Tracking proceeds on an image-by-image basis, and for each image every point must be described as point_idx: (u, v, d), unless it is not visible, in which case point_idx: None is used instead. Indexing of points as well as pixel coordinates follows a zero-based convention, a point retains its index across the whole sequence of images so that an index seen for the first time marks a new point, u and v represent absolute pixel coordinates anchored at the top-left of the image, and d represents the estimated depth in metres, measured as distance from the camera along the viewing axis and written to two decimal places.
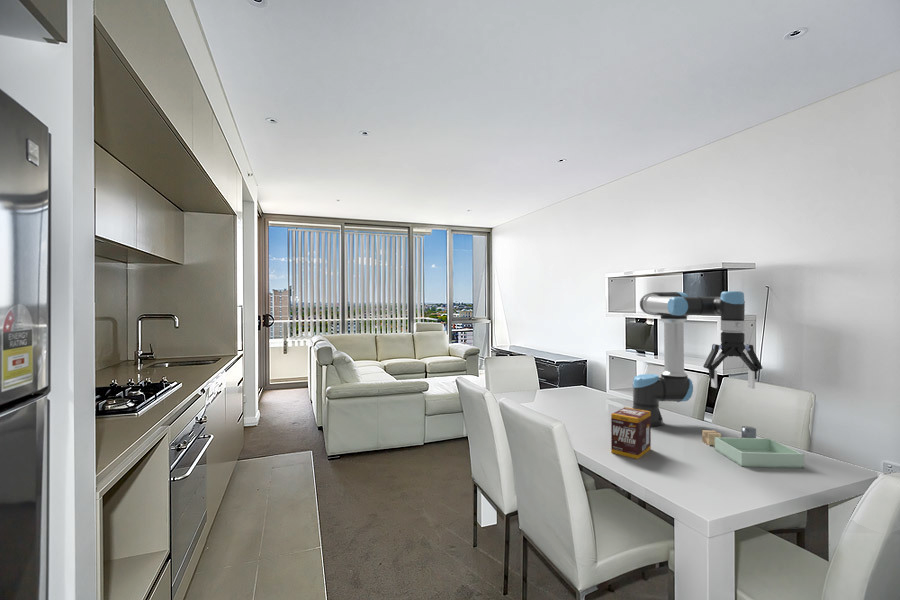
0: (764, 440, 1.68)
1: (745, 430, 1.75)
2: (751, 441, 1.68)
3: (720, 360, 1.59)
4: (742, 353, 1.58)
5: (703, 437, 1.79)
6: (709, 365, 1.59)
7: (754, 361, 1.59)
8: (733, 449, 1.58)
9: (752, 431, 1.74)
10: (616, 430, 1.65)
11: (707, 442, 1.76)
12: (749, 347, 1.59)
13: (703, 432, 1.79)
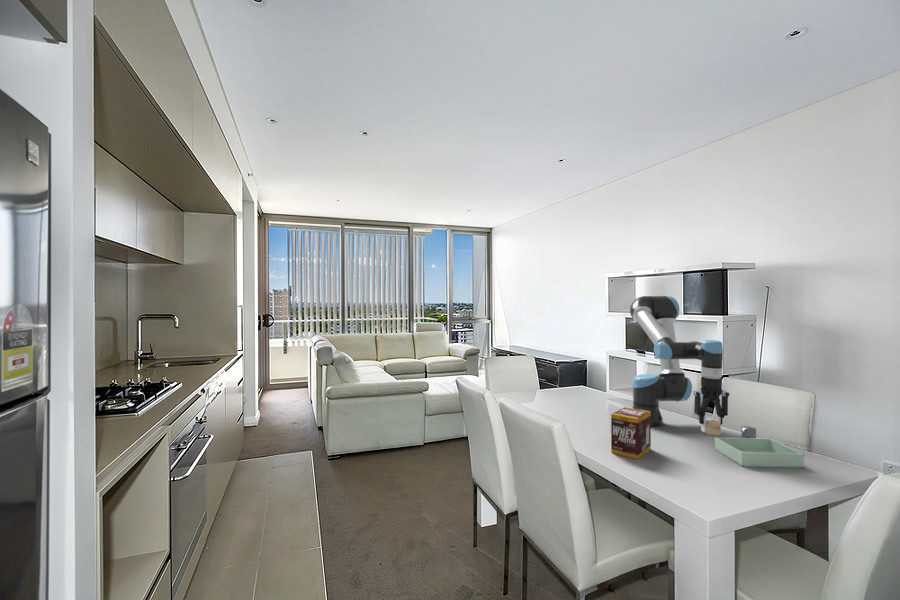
0: (764, 440, 1.68)
1: (745, 430, 1.75)
2: (751, 441, 1.68)
3: (705, 406, 1.77)
4: (717, 398, 1.76)
5: None
6: (699, 412, 1.77)
7: (723, 407, 1.77)
8: (733, 449, 1.58)
9: (752, 431, 1.74)
10: (616, 430, 1.65)
11: (706, 431, 1.76)
12: (725, 394, 1.76)
13: None
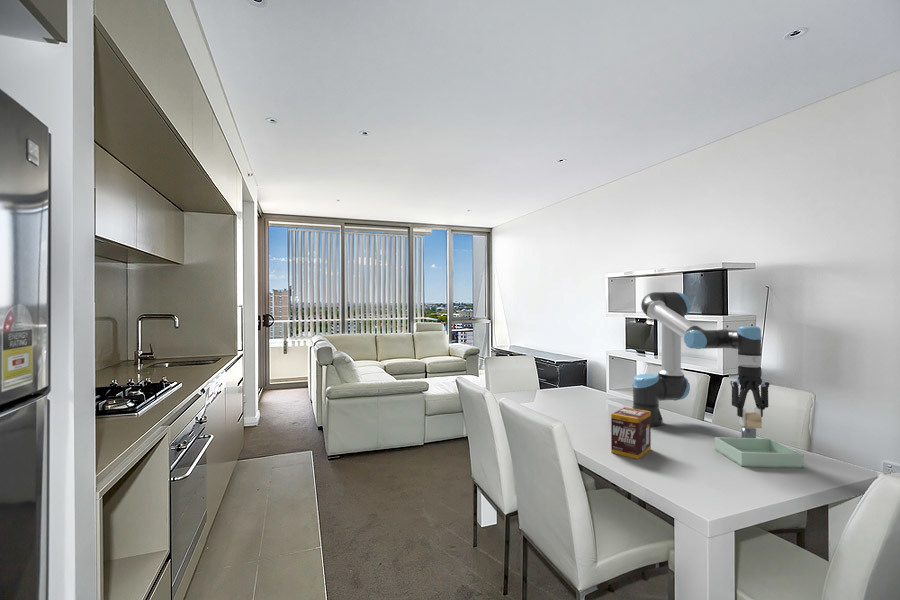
0: (764, 440, 1.68)
1: (745, 430, 1.75)
2: (751, 441, 1.68)
3: (744, 397, 1.64)
4: (757, 388, 1.63)
5: None
6: (737, 403, 1.64)
7: (763, 398, 1.64)
8: (733, 449, 1.58)
9: (752, 431, 1.74)
10: (616, 430, 1.65)
11: (746, 424, 1.63)
12: (765, 384, 1.63)
13: None
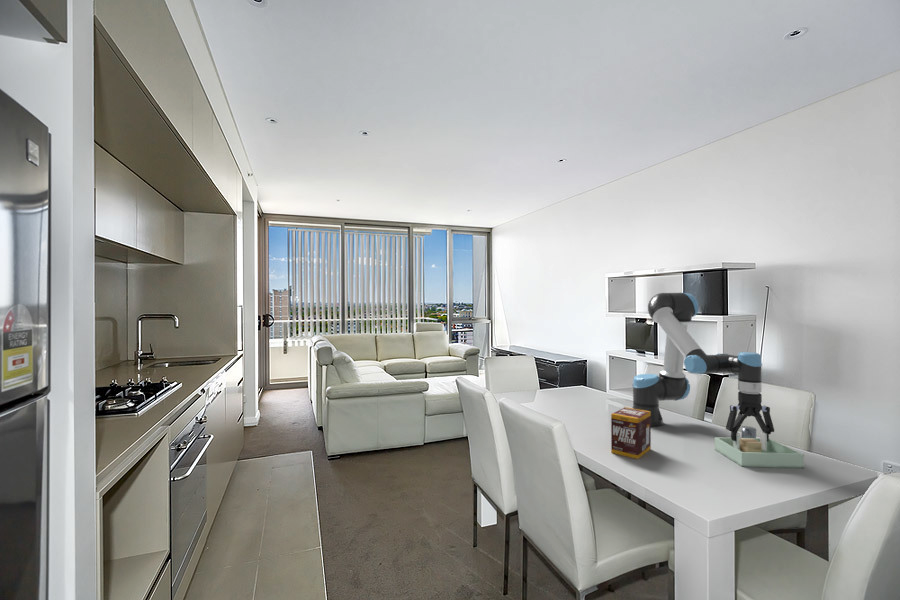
0: None
1: (745, 430, 1.75)
2: None
3: (740, 422, 1.64)
4: (758, 414, 1.63)
5: (741, 446, 1.66)
6: (731, 427, 1.64)
7: (767, 423, 1.64)
8: (733, 449, 1.58)
9: (752, 431, 1.74)
10: (616, 430, 1.65)
11: (746, 451, 1.63)
12: (766, 409, 1.63)
13: (741, 440, 1.66)
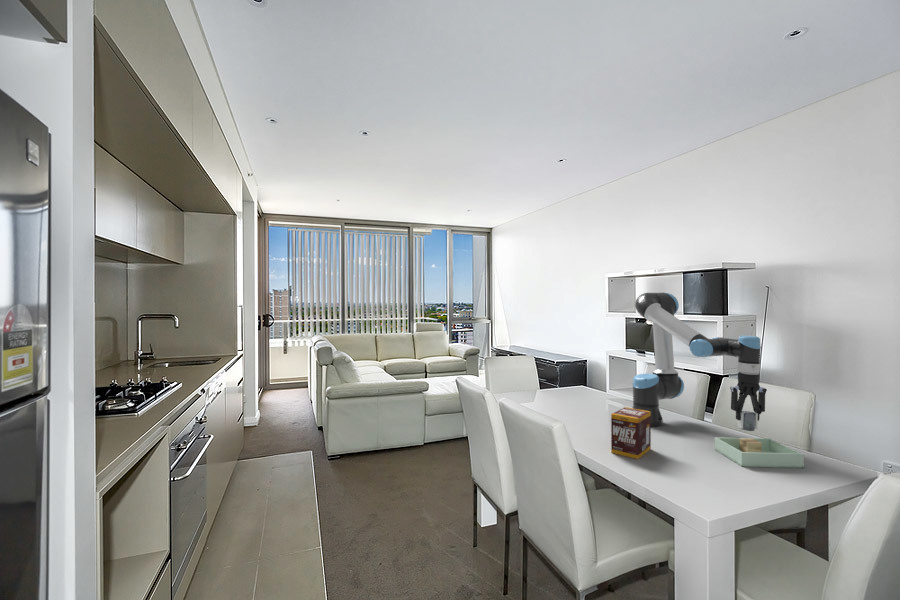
0: (764, 440, 1.68)
1: (744, 414, 1.75)
2: None
3: (742, 401, 1.75)
4: (755, 393, 1.75)
5: (741, 446, 1.66)
6: (736, 407, 1.76)
7: (760, 403, 1.76)
8: (733, 449, 1.58)
9: (751, 415, 1.74)
10: (616, 430, 1.65)
11: (746, 451, 1.63)
12: (763, 390, 1.75)
13: (741, 440, 1.66)
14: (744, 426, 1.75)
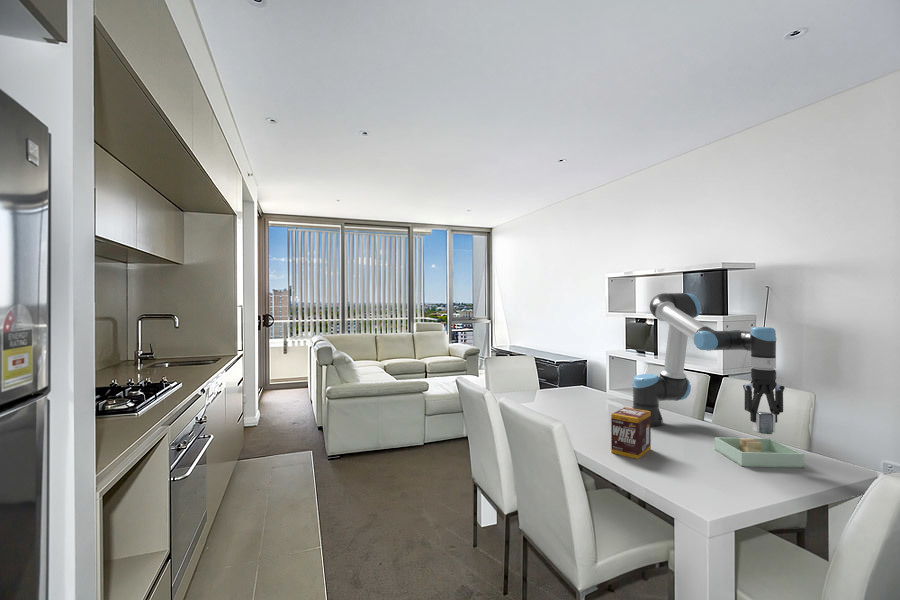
0: (764, 440, 1.68)
1: (760, 416, 1.55)
2: None
3: (758, 401, 1.56)
4: (771, 392, 1.55)
5: (741, 446, 1.66)
6: (750, 408, 1.56)
7: (778, 402, 1.56)
8: (733, 449, 1.58)
9: (768, 417, 1.54)
10: (616, 430, 1.65)
11: (746, 451, 1.63)
12: (780, 387, 1.55)
13: (741, 440, 1.66)
14: (760, 429, 1.55)
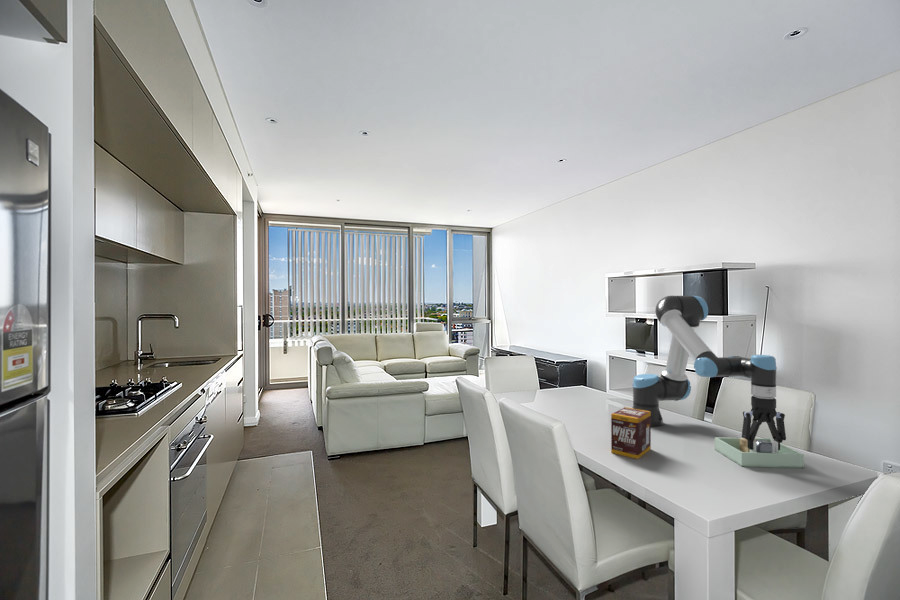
0: None
1: (760, 445, 1.55)
2: None
3: (756, 429, 1.56)
4: (772, 420, 1.55)
5: (741, 446, 1.66)
6: (747, 435, 1.56)
7: (780, 430, 1.56)
8: (733, 449, 1.58)
9: (768, 446, 1.54)
10: (616, 430, 1.65)
11: (746, 451, 1.63)
12: (780, 415, 1.55)
13: (741, 440, 1.66)
14: None
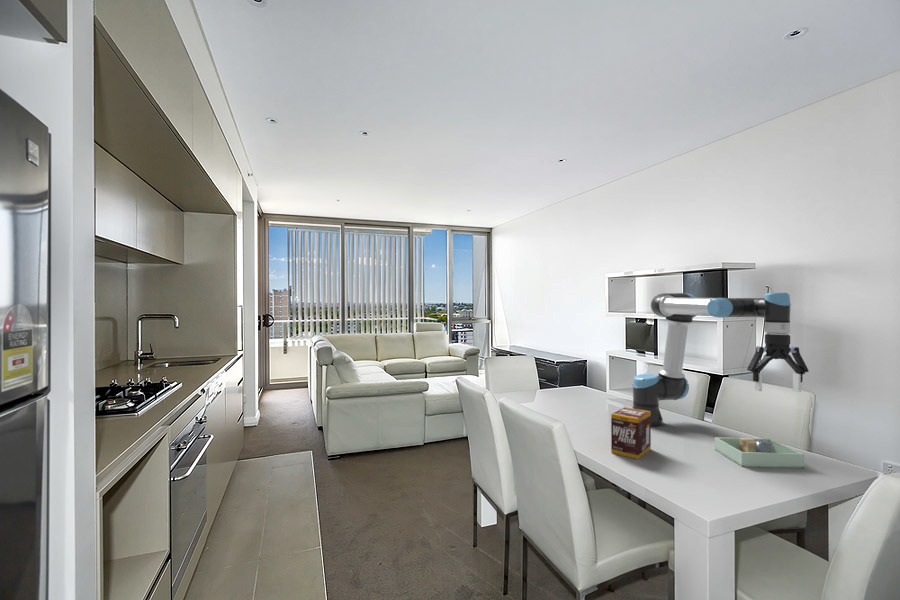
0: None
1: (760, 445, 1.55)
2: None
3: (765, 363, 1.56)
4: (788, 356, 1.55)
5: (741, 446, 1.66)
6: (754, 368, 1.56)
7: (800, 363, 1.55)
8: (733, 449, 1.58)
9: (768, 446, 1.54)
10: (616, 430, 1.65)
11: (746, 451, 1.63)
12: (795, 349, 1.55)
13: (741, 440, 1.66)
14: None
